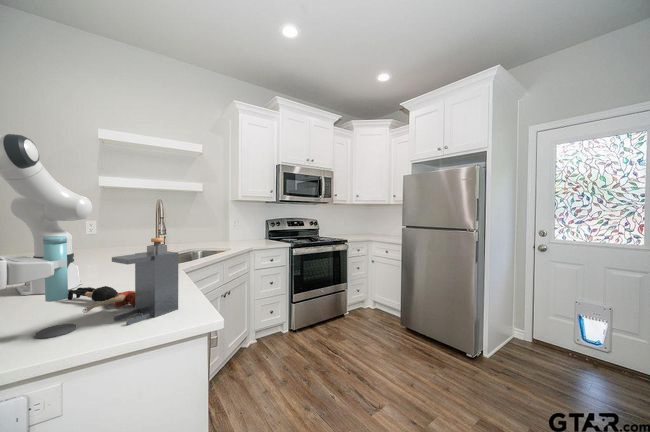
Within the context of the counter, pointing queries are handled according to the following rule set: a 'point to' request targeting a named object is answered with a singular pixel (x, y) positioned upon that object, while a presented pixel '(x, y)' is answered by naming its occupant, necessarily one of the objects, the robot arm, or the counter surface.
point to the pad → (55, 331)
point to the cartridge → (59, 281)
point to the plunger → (157, 241)
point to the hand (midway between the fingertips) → (60, 261)
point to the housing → (152, 283)
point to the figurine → (103, 296)
